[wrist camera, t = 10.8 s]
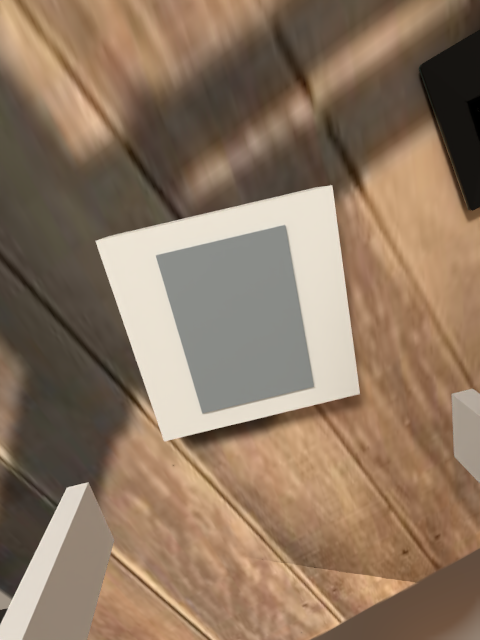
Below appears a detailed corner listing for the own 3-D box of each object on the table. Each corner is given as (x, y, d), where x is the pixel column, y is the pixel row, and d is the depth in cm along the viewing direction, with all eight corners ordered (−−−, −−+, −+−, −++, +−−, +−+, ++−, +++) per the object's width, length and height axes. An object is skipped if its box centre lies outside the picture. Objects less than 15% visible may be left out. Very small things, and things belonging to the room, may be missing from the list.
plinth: (109, 236, 31) (94, 241, 27) (317, 187, 31) (333, 185, 27) (168, 416, 37) (163, 443, 33) (344, 374, 37) (361, 395, 33)
